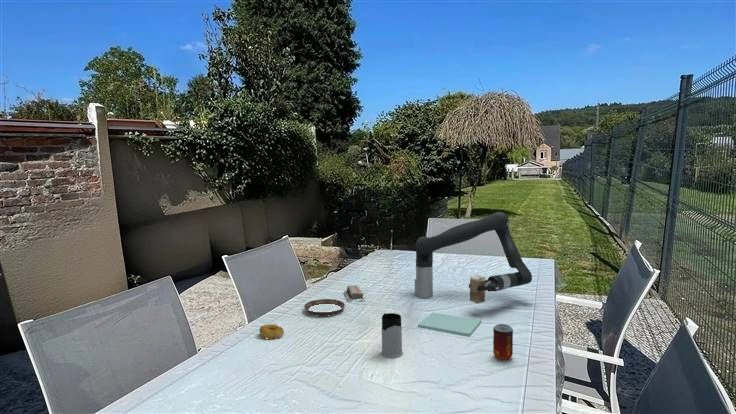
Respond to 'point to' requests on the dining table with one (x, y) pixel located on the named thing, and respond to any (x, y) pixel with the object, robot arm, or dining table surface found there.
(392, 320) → the glass holder
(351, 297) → the packaged product
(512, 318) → the dining table surface
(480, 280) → the brown tall square block
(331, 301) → the plant saucer
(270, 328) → the bagel
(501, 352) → the soda can
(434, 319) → the sage board
